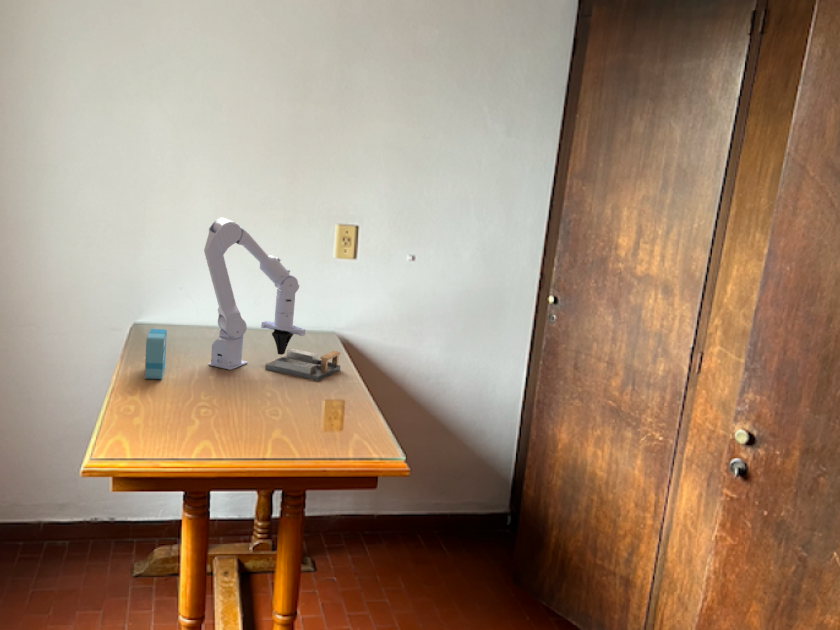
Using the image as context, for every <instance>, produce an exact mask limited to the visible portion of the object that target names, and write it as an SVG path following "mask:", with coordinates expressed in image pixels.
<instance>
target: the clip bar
mask: <svg viewBox="0 0 840 630" xmlns="http://www.w3.org/2000/svg"><path fill="white" fill-rule="evenodd" d="M286 356H287V357H286V358H290V359H294V360H299V361H303V362H308V363H312V364H317V361H318V360H319V359H318V358H319V353H316V352H310V351H307V350H303V349H302V350H301V349H297V348H290V349H288V350H287V349H286Z"/></svg>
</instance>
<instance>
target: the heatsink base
mask: <svg viewBox="0 0 840 630" xmlns="http://www.w3.org/2000/svg"><path fill="white" fill-rule="evenodd" d="M340 355H341V351H336V350H332V351H330V352H328V353H326V354H323V355H321V356H320V358H319V359H318V361H317V364H312V363H308V362H303V361H299V360H294V359H290V358H286V357H287V355H285V356H283V357H279V358H277V359H275V360H273V361H270V362H267V363H266V364H265V366H264V370H267V371H270V372H276V373H279V374H283V375H288V376H293V377H296V378H302V379H306V380H309V381H314V382H320V381H322V380H323V379H326V378H328V377H330V376H332V375H333V374H335V373H338V372H339V371H341V365H339V359H340ZM329 360H331V361H329Z"/></svg>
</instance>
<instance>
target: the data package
mask: <svg viewBox="0 0 840 630" xmlns="http://www.w3.org/2000/svg"><path fill="white" fill-rule="evenodd" d="M167 332H168V331H167V329H165V328H164V329H163V328H161V329H160V328H150V329H149V330H148V333H147V336H146V340H145V342H146V343H145V359H144V360H145V361H144V362H145V363H144V379H146V380H163V376H164V373H165V367H166V354H167V353H166V349H167V336H168V335H167V334H168V333H167Z"/></svg>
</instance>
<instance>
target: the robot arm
mask: <svg viewBox="0 0 840 630" xmlns="http://www.w3.org/2000/svg"><path fill="white" fill-rule="evenodd" d="M207 235H208V236H207V239H206V242H205V245H204V249H203V250H204V251H203V252H204V256H205V260H206V263H207V267H208V271H209V274H210V278H211V282H212V285H213V289H214V292H215V293H214V294H215V297H216V300H217V305H218V308H217V312H218V313H217V314H218V318H217V325H218V327H219V328H220V330H219V332H218V337H217V339H216V340H214V341H213V343H212V344H211V353H210V354H211V355H210V356H211V358H210V362H208V363H207V364H208V365H209V366H212V367H216V368H221V369H225V370H229V371H231V370H234V369H236V368H239V367H241V366H244V365H246V364H248V361H246V360H243V349H244V347H243V346H244V334H246V331H247V327H248V326H247V323H246V321H245V320H244V319H243V318H242V316H241V315H242V314H241V312H240V310H239V308H238V305H237V303H236V300H235V295H234V292H233V287H232V284H231V279H230V276H229V272H228V268H227V264H226V259H225V256H224V254H225V253H226V252H228V250H229V248H230V247H232V246H233V245H234V244H237V245H239V246H243V248H245V250H247V251H248V253H250V254H251V256H253V257H254V258H255V259H256V260H257V261H258V262H259V270H261V271H262V273H263V274H264V275H266V277H267V278H268V279H269V280H270V281H271V282H272V283H273V284H274V286H275V288H277V290H276V296H275V297H276V298H275V308H274V309H275V310H274V321H267V320H264V321H261V324H260V325H261V327H260V328H261V329H269V330H273V332H271V335H272V337H273V340H274V343H275V345H276V349H277V354H278V355H281V356H282V355H284V354H286V351H287V346H288V345H289V343H290V341H291V338H292V337H293V336H294V335H296V336H297V335H298V336H300V337H305V335H306V328H302V327H298V326H296V325H294V316H295V315H294V314H295V305H296V304H295V302H296V293H297V292H298V291H299V288H300V284H299V282H298V279H297V277H295V276H294V275H292V274H290V273H291V270H290V269H288V268H286V267H285V266H284V265H283V264H282V263H281V261H282V259H280V258H279V257H278V256H274V255H268V254H267V252H265V251H264V249H263V248H262V247H261V245H260V244H259V243H258V242H257V241H256V240H255V239H254V238H253V236H251V235H250V233H248V232H247V231H246V230H245V229H244V228H242V227H241V226H240V224H239V223H236V221H235V222H234V221H232V220H230V219H228V218H226V217H219V218H217V219H216V220H214V221H213V223H211V225H210V226H209V227H208V234H207Z"/></svg>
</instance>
